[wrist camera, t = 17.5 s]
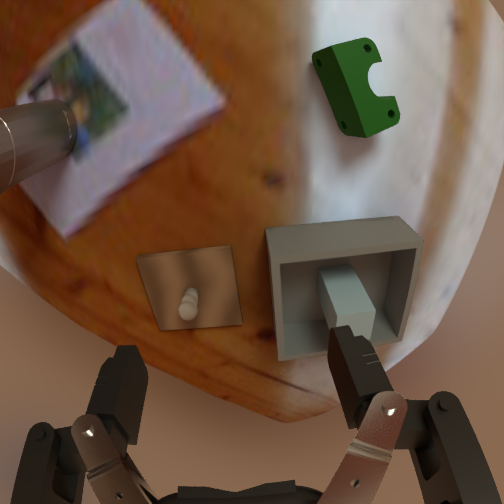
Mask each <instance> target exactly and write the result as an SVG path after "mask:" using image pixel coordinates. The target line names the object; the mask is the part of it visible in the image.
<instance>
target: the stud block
mask: <svg viewBox="0 0 504 504" xmlns="http://www.w3.org/2000/svg"><path fill="white" fill-rule="evenodd" d="M136 261H137V264H138V267H139V270H140V273H141V277H142V280H143V283H144V286H145V289H146V292H147V295H148V298H149V301H150V303H151V306H152V309H153V312H154V315H155V317H156V320H157V323H158V326H159V328H160V330H175V329H191V328H206V327H218V326H230V325H241V324H243V320H242V313H241V307H240V301H239V295H238V288H237V282H236V275H235V269H234V262H233V256H232V249H231V245H227V246H218V247H208V248H199V249H190V250H181V251H172V252H164V253H155V254H146V255H138V256H137V258H136Z"/></svg>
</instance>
